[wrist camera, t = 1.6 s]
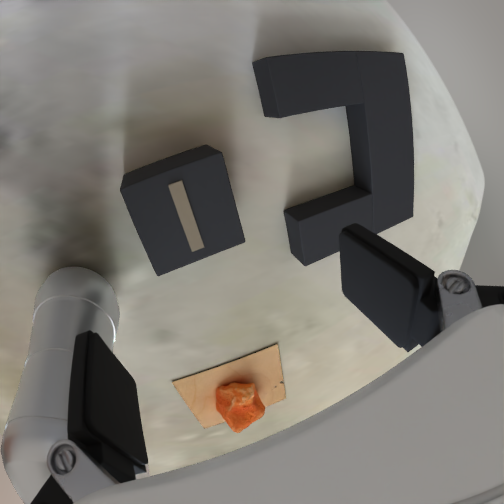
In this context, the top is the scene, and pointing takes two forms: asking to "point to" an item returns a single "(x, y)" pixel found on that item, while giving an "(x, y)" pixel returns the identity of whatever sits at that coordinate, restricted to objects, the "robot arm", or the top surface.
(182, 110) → the top surface
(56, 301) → the plastic bottle
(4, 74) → the top surface
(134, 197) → the dark grey square block
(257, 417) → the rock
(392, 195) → the dark grey u-shaped block
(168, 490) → the robot arm
